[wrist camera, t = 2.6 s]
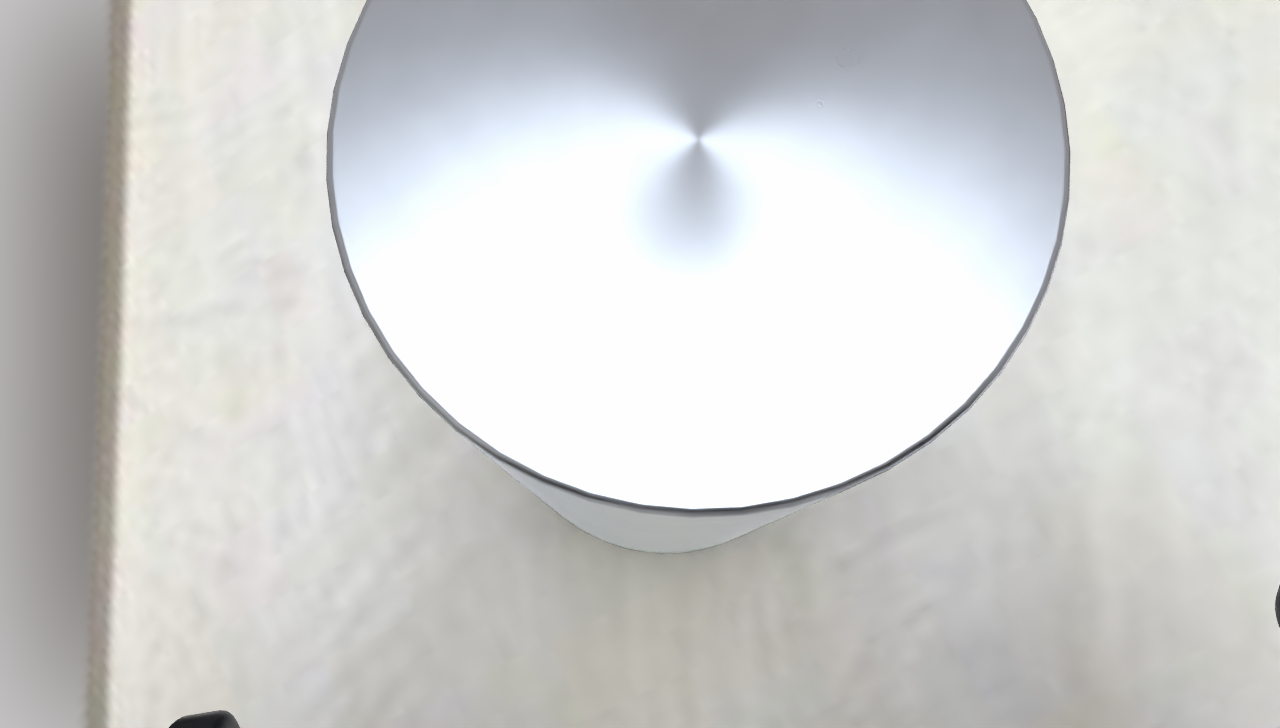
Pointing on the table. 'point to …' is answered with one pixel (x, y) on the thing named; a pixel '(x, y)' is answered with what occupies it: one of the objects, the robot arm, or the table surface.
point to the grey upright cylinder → (697, 237)
